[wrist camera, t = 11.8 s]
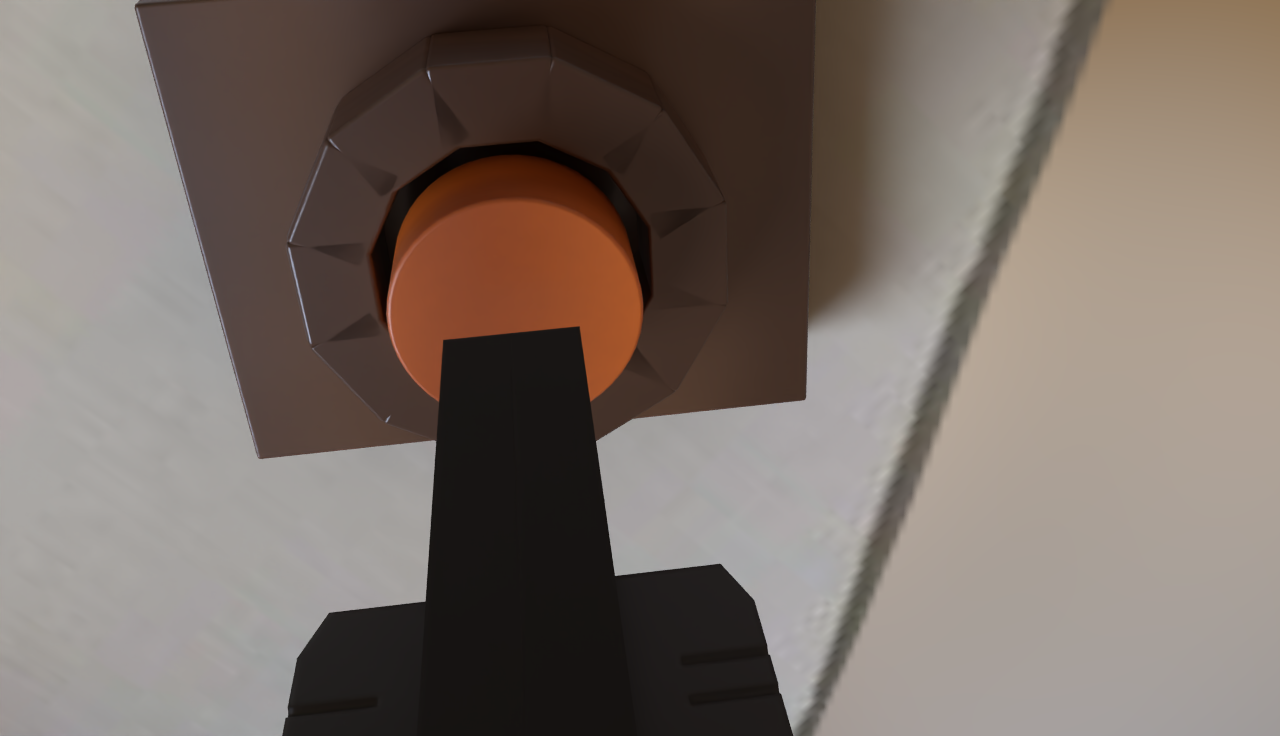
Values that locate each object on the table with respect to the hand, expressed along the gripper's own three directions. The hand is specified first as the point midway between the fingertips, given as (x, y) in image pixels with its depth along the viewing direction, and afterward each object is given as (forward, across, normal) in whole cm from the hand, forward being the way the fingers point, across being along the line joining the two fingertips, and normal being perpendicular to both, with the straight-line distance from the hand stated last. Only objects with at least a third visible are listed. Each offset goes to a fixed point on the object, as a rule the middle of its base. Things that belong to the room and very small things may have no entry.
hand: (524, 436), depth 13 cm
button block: (+9, 0, 0) cm, 9 cm away
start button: (+5, 0, 0) cm, 5 cm away
